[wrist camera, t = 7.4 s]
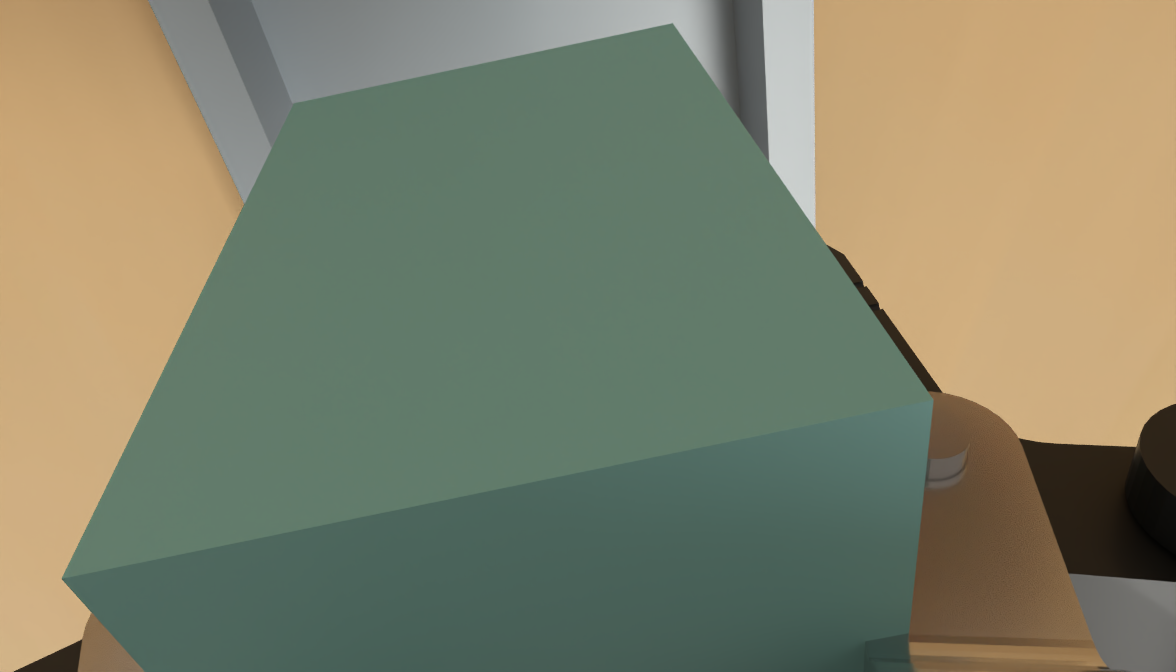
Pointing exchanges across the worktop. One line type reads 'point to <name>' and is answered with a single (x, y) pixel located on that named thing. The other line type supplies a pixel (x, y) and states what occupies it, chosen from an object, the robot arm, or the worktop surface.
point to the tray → (478, 59)
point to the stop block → (519, 399)
